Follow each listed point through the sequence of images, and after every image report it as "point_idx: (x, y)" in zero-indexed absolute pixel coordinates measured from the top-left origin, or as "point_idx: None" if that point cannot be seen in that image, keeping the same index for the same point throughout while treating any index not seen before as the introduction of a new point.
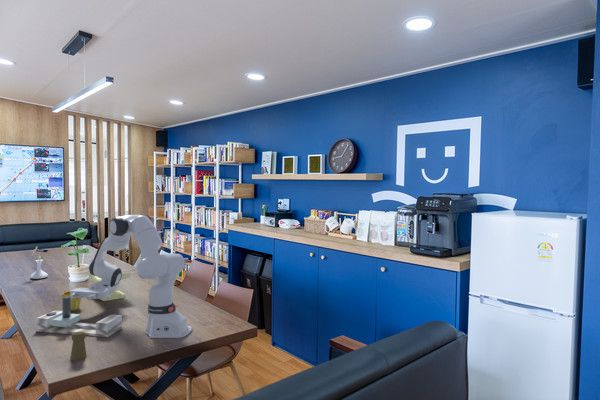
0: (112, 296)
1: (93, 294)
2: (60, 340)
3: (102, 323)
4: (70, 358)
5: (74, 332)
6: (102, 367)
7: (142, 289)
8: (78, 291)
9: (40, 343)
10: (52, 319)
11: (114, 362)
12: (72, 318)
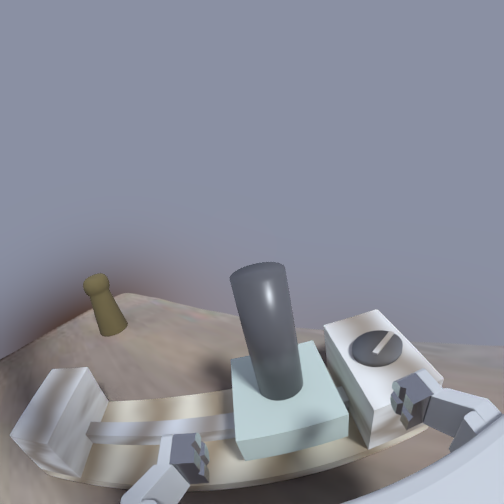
0: None
1: (154, 501)
2: (211, 360)
3: (67, 369)
4: (125, 319)
5: (196, 395)
6: (69, 322)
7: None
8: (471, 440)
9: None
10: (313, 342)
11: (54, 334)
12: (232, 389)
